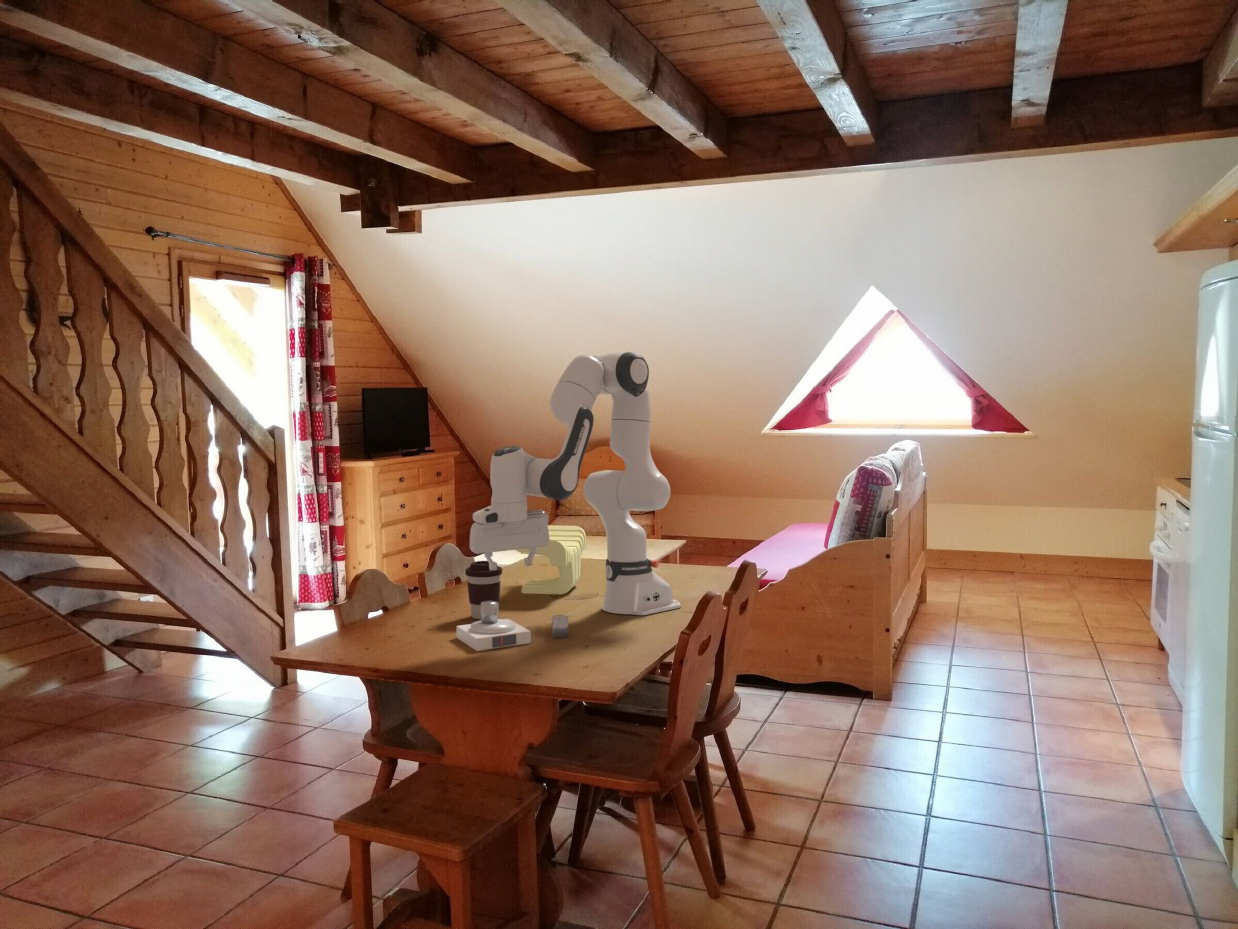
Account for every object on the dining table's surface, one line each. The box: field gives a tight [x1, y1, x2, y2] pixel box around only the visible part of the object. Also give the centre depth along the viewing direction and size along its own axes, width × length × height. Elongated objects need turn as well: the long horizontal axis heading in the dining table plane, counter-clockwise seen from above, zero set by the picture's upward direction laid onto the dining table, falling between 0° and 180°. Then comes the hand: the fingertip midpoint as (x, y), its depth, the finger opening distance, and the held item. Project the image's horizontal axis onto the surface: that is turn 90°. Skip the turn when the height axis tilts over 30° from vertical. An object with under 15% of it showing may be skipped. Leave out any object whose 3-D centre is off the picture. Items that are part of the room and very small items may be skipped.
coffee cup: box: [465, 560, 503, 621], centre depth 258 cm, size 10×10×15 cm
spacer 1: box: [480, 601, 498, 624], centre depth 236 cm, size 4×4×5 cm
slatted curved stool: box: [515, 524, 587, 595], centre depth 293 cm, size 30×16×18 cm, turn 170°
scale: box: [456, 618, 532, 652], centre depth 234 cm, size 14×15×4 cm
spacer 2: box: [551, 614, 569, 640], centre depth 237 cm, size 4×4×5 cm
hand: (511, 567), depth 236 cm, fingers open, 8 cm apart
